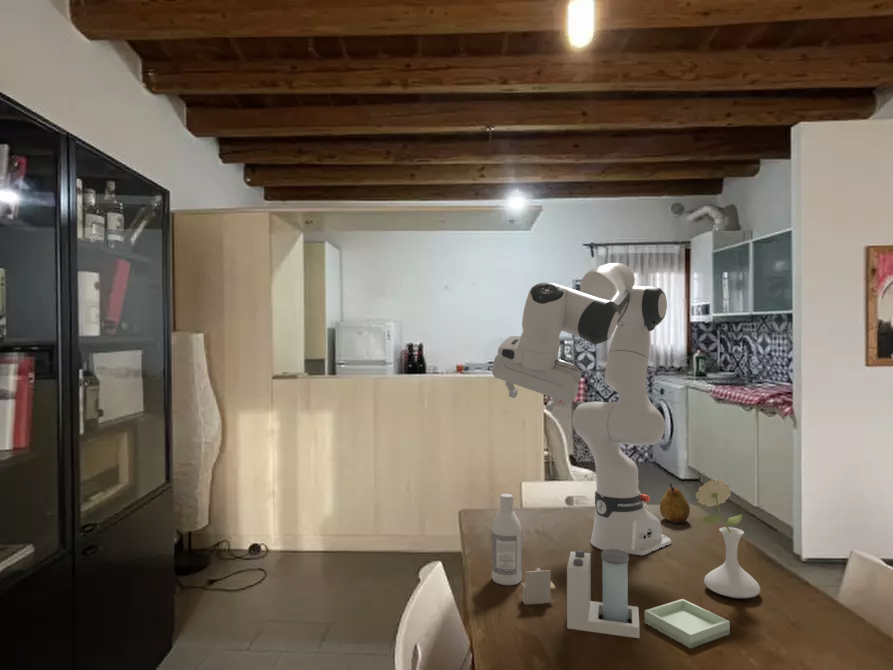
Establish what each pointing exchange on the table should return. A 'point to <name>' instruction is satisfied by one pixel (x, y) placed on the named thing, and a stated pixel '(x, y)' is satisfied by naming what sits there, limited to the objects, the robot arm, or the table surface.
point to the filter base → (591, 602)
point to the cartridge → (615, 585)
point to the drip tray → (687, 623)
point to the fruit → (674, 506)
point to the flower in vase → (730, 574)
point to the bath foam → (506, 544)
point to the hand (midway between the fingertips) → (531, 402)
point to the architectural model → (537, 587)
